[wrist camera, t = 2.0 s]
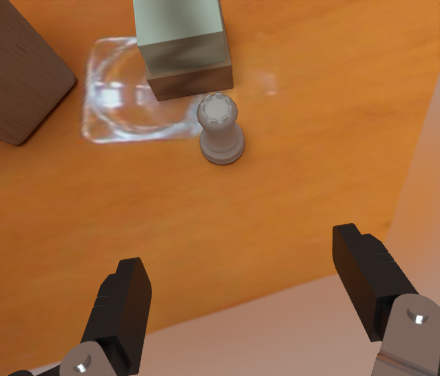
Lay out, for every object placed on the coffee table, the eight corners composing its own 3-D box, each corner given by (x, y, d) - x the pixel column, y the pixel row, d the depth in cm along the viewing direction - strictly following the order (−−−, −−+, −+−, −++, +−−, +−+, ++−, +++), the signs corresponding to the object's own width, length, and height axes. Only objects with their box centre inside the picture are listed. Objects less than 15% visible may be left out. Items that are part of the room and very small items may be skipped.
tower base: (157, 100, 34) (132, 52, 26) (150, 36, 36) (124, -27, 28) (233, 87, 33) (229, 35, 26) (221, 23, 35) (215, -45, 27)
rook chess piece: (194, 157, 32) (178, 124, 24) (209, 118, 33) (199, 74, 25) (236, 171, 31) (233, 142, 24) (251, 131, 32) (253, 89, 24)
